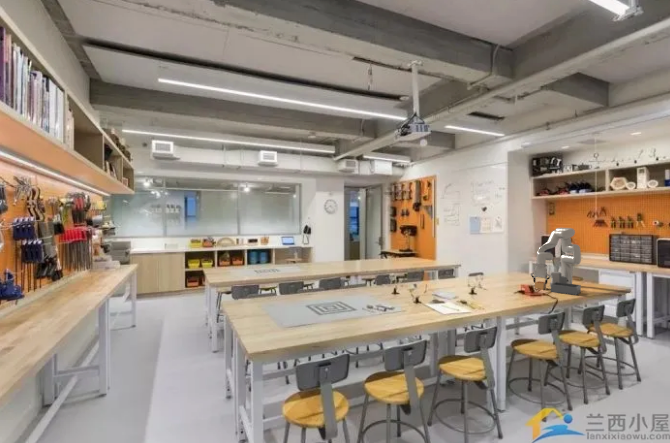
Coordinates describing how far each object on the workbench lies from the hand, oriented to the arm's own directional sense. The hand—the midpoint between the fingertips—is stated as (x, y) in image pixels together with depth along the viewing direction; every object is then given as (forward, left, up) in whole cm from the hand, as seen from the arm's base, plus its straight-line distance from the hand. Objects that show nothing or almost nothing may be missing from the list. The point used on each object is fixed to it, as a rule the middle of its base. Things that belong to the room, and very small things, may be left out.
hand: (540, 283), depth 335 cm
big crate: (+1, +21, -5) cm, 22 cm away
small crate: (-1, 0, -5) cm, 5 cm away
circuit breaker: (-19, +12, -5) cm, 23 cm away
